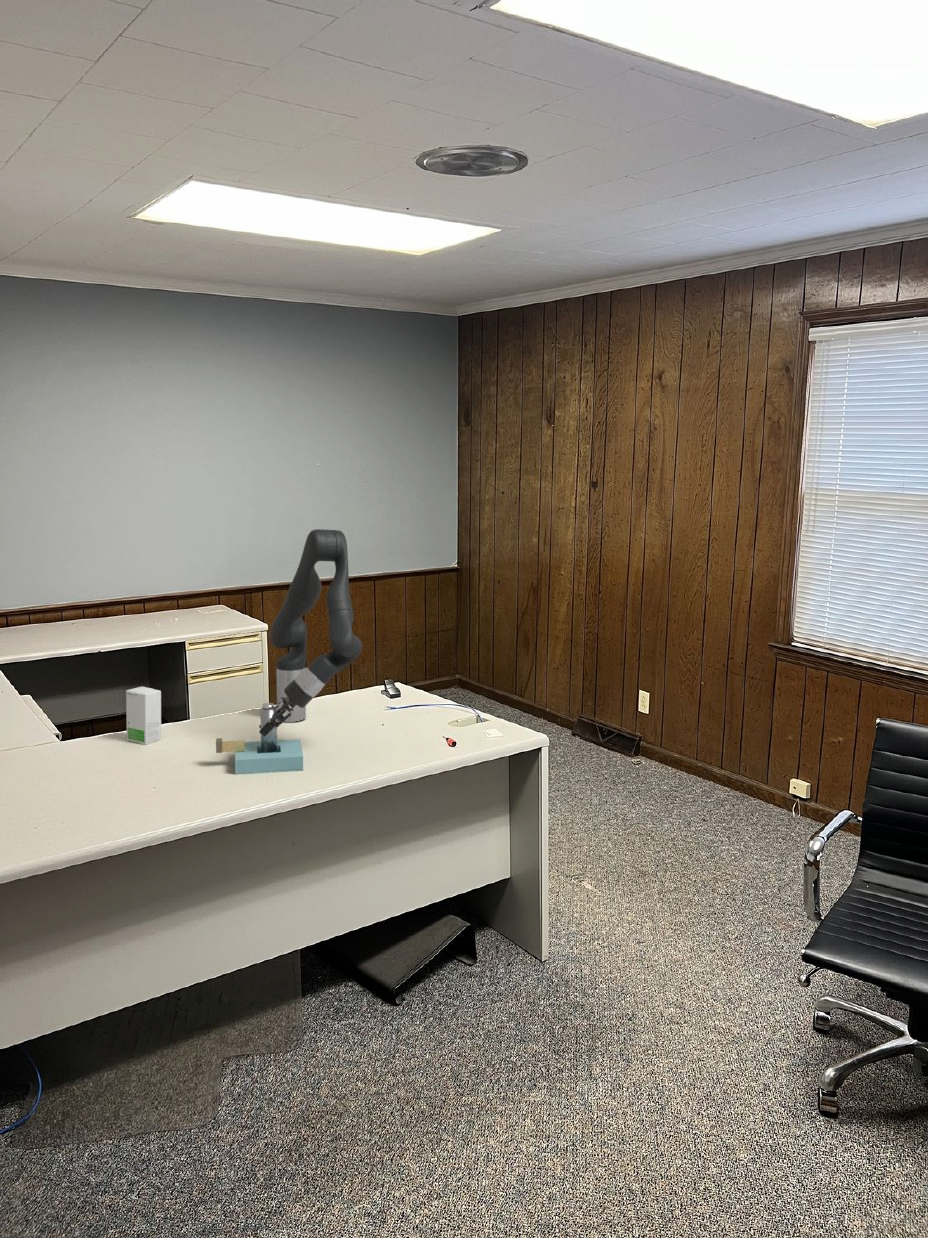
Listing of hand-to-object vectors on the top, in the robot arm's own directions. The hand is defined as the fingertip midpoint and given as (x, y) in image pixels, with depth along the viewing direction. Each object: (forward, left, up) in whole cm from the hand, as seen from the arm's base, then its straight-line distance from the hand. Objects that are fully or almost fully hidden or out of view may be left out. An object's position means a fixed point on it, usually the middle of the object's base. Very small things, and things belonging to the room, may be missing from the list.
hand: (261, 731), depth 251 cm
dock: (0, +2, -9) cm, 9 cm away
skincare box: (-28, -34, -9) cm, 45 cm away
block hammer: (0, -8, -5) cm, 9 cm away
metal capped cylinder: (0, +2, -6) cm, 6 cm away
